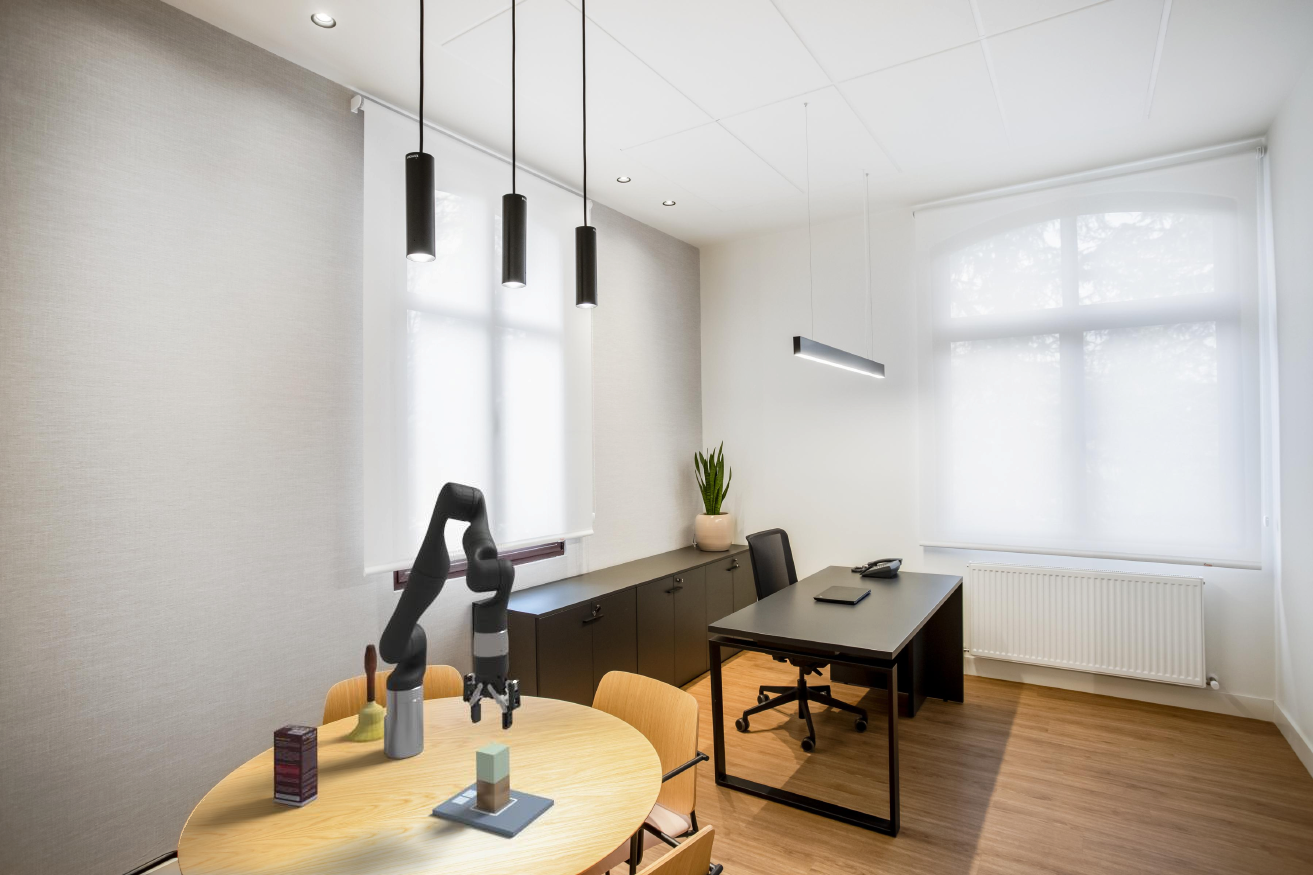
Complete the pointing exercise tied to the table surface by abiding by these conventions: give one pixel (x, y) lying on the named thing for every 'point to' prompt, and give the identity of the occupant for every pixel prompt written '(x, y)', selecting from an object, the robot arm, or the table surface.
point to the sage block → (492, 762)
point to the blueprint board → (502, 821)
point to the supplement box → (295, 765)
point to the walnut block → (493, 794)
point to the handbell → (369, 705)
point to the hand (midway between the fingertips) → (491, 725)
